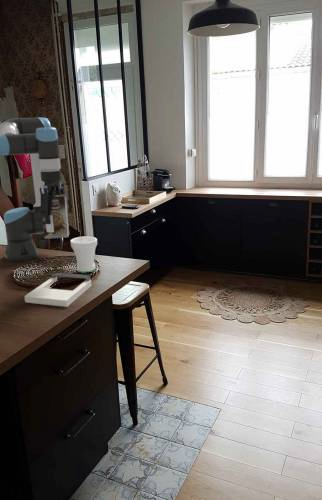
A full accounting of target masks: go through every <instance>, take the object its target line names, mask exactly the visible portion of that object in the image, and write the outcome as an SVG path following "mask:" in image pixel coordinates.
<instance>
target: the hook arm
mask: <svg viewBox="0 0 322 500" xmlns="http://www.w3.org/2000/svg"><path fill="white" fill-rule="evenodd" d="M56 277H62V278H63V277H64V278H73V279H74V278H77V279H85V281H90V280H91V275H88V274H78V273H77V274H76V273H67V272H66V273H62V272H51V278H56Z"/></svg>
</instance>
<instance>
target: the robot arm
mask: <svg viewBox="0 0 322 500" xmlns="http://www.w3.org/2000/svg"><path fill="white" fill-rule="evenodd" d="M12 155H13V156H14V155H29V156H30V164H31V172H32V180H33V188H34V197H35V203H34V204H33V207H32V208H33V209H31V210H30V208H29V207H27V206H26V207H25V206H24V207H16V208H12V209H9V210H7V211H6V212H4V215H3V219H4V220H3V221H4V222H3V223H4V227H5V235H6V240H7V241H6V242H7V243H6V247H5V252H4V256H5V259H6V261H9V262H25V261H28V260H32V259H35V258H37V257H38V255H39V250H38V249H37V246H36V244H35V242H34V240H33V235H40V234H44V226H43V216H42V215H45V222H46V229H47V232H54V226H53V216H52V215H51V209H52V198H53V197H54V195H61V194H66V192H65V183H64V182H63V183H62V182H61V183H60V181H62V179H63V178H62V177H63V176H62V171H61V169H62V165H61V157H60V148H59V136H58V131H57V128H56V127H55V126H54V127H53V126H52V125H51V122H50V120H49V118H46V117H38V116H37V117H15V118H8V119H6V120H4V121H2V122H1V123H0V156H12ZM66 202H67V203H68V201H67V199H66ZM68 207H69V206H68V204H67V208H68Z"/></svg>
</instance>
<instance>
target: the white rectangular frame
mask: <svg viewBox="0 0 322 500" xmlns="http://www.w3.org/2000/svg"><path fill="white" fill-rule="evenodd" d="M56 281H58V276H56V278H52V277H50V278H49V279H47V280H45V281H44V282H43V283H41V284H40V285H39V286H37V287H35V288H34V289H33V290H31V291H30V292H29V293H27V294H26V295H25V294H24V303H30V304H37V305H38V304H39V305H48V306H55V307H57V306H58V307H65V308H68V307H69V306H70V305H71V304H72V303H73V302H75V301H76V300H77V299H78V298H80V297H81V296H82V295H83V294H84V293H85V292H86V291H87V290H89V289H90V288H91V287H92V280H91V279H90V281H86V280H84V281H83V282H81V284H79V285H78V286H76V288H74V289H73V290H69V289H58V288H52V287H50V286H51V285H52V284H53V283H54V282H56Z"/></svg>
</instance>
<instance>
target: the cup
mask: <svg viewBox="0 0 322 500" xmlns="http://www.w3.org/2000/svg"><path fill="white" fill-rule="evenodd" d="M97 245H98V238H96V237H94V236H88V235H86V236H78V237H74V238H72V239H70V247H71V249H72V250H73V253H74V255H75V257H76V264H77V265H76V270H77V272H78V273H81V274H82V273H85V274H86V273H89V272H92V271H93V272H94V271H95V269H96V264H95V259H94V258H95V251H96V248H97ZM93 272H92V273H93Z"/></svg>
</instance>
